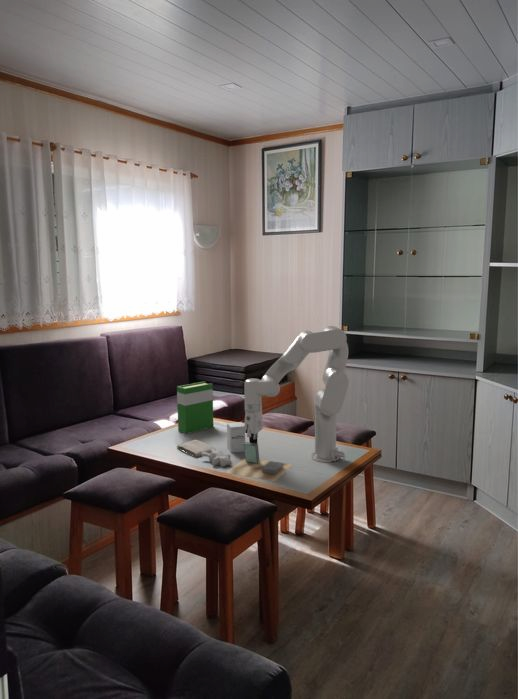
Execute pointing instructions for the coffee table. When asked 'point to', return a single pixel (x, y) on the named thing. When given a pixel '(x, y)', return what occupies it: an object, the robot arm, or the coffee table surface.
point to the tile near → (272, 467)
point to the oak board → (256, 470)
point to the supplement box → (235, 437)
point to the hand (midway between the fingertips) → (253, 446)
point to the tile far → (251, 452)
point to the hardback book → (195, 407)
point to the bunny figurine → (218, 458)
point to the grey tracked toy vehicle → (195, 447)
